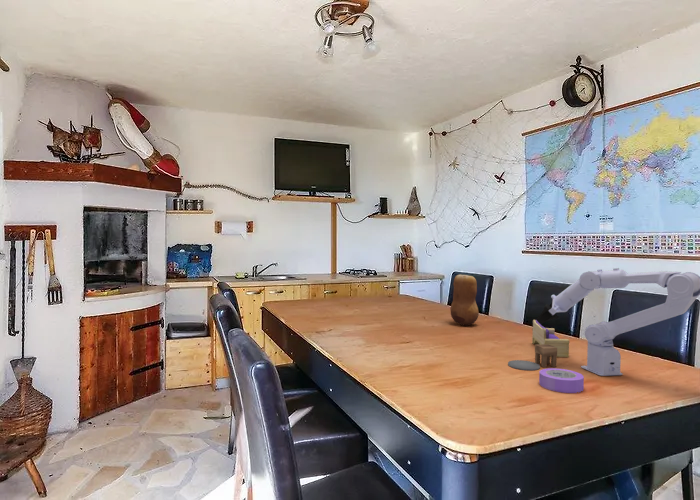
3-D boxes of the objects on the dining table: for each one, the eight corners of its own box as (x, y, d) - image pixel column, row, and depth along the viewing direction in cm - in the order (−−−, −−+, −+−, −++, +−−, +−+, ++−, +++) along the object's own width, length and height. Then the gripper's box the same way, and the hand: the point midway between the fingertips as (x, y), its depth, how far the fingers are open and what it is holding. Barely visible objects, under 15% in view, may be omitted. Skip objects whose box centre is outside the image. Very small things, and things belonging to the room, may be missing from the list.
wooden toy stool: (556, 367, 148) (557, 347, 148) (543, 367, 147) (543, 348, 147) (547, 362, 153) (548, 344, 152) (534, 363, 152) (535, 344, 152)
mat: (546, 369, 144) (546, 368, 144) (517, 371, 143) (517, 369, 143) (529, 361, 154) (529, 359, 154) (502, 362, 153) (502, 360, 153)
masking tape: (532, 386, 129) (532, 373, 129) (548, 377, 137) (548, 365, 137) (575, 396, 121) (575, 382, 120) (589, 387, 129) (589, 374, 129)
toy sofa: (569, 358, 160) (570, 330, 159) (544, 357, 161) (545, 329, 161) (553, 344, 180) (554, 319, 180) (531, 343, 182) (531, 318, 181)
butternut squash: (481, 324, 221) (482, 274, 220) (473, 328, 210) (474, 276, 209) (454, 321, 228) (455, 273, 228) (445, 325, 217) (446, 274, 216)
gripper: (568, 281, 158) (540, 303, 166) (555, 293, 147) (526, 315, 155) (583, 297, 155) (554, 318, 163) (571, 309, 145) (541, 331, 153)
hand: (542, 318), depth 159 cm, fingers open, 7 cm apart
